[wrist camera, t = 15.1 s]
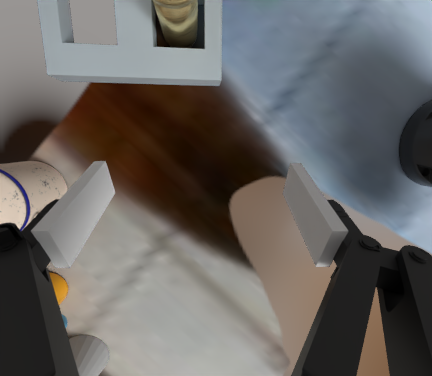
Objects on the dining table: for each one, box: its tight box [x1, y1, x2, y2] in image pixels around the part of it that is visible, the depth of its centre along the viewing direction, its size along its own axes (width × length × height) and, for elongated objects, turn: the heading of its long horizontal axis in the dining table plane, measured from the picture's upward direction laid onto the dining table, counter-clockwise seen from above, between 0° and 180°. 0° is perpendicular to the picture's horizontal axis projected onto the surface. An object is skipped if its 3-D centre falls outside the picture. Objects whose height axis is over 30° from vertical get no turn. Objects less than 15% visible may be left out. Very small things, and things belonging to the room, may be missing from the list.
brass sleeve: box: [152, 0, 198, 48], centre depth 24 cm, size 6×6×12 cm
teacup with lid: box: [0, 161, 67, 231], centre depth 27 cm, size 12×9×12 cm
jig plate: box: [37, 0, 222, 86], centre depth 28 cm, size 22×14×3 cm, turn 90°
